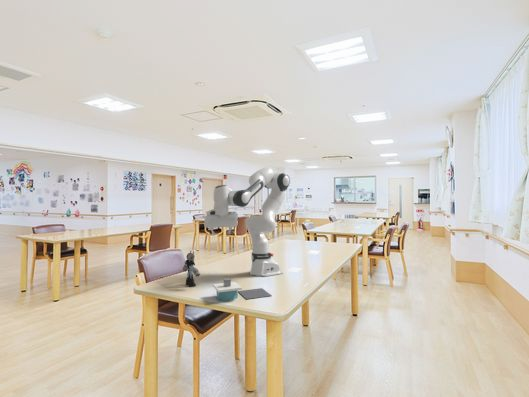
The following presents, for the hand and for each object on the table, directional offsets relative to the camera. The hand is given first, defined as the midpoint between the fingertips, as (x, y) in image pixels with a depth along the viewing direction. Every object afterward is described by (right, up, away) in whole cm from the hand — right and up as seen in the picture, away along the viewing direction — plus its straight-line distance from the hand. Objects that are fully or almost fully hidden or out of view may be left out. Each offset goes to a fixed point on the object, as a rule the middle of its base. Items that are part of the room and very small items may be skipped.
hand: (221, 234), depth 184 cm
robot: (-17, -29, -5) cm, 34 cm away
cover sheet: (+7, -24, -27) cm, 37 cm away
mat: (+21, -29, -22) cm, 42 cm away
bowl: (+7, -29, -27) cm, 41 cm away
